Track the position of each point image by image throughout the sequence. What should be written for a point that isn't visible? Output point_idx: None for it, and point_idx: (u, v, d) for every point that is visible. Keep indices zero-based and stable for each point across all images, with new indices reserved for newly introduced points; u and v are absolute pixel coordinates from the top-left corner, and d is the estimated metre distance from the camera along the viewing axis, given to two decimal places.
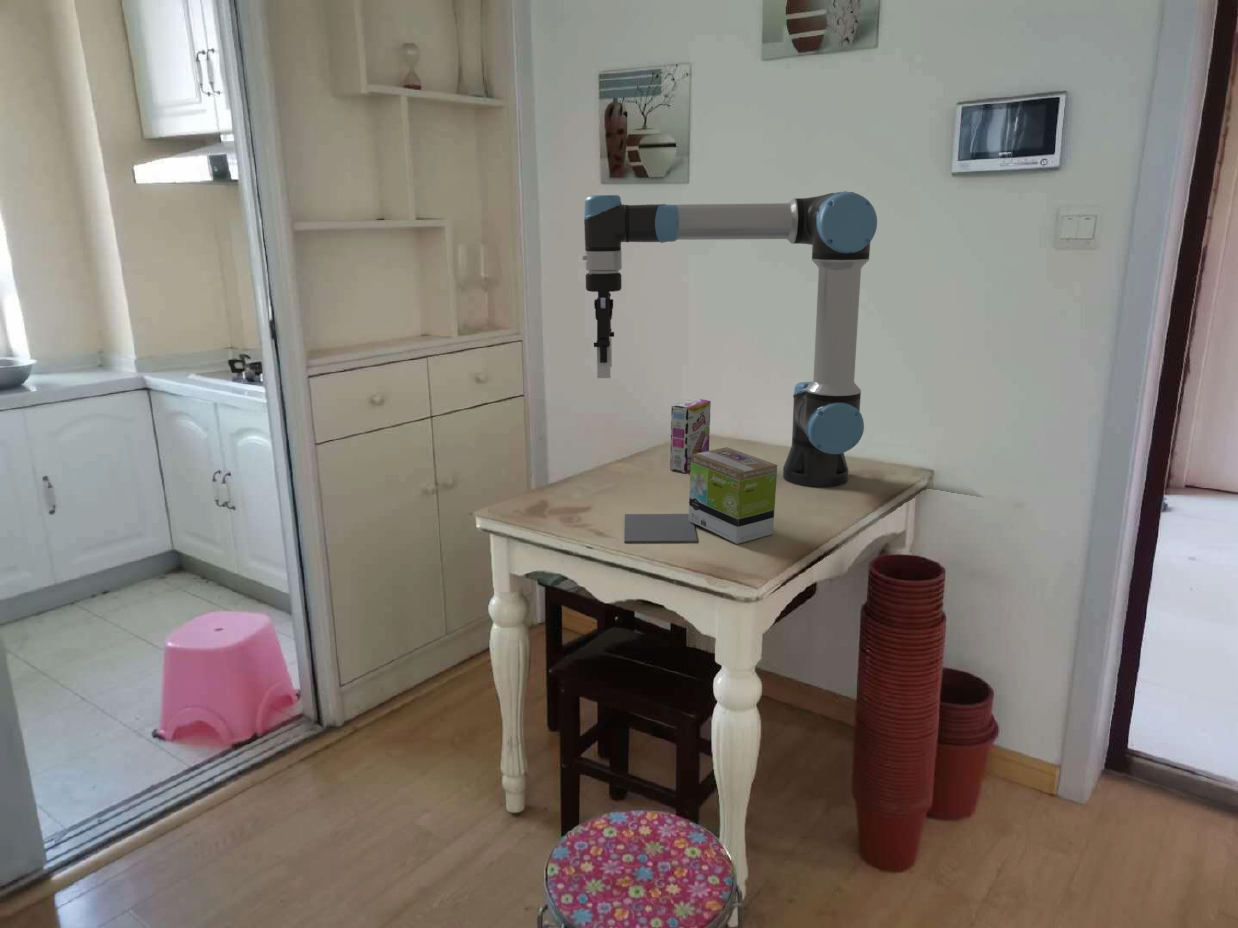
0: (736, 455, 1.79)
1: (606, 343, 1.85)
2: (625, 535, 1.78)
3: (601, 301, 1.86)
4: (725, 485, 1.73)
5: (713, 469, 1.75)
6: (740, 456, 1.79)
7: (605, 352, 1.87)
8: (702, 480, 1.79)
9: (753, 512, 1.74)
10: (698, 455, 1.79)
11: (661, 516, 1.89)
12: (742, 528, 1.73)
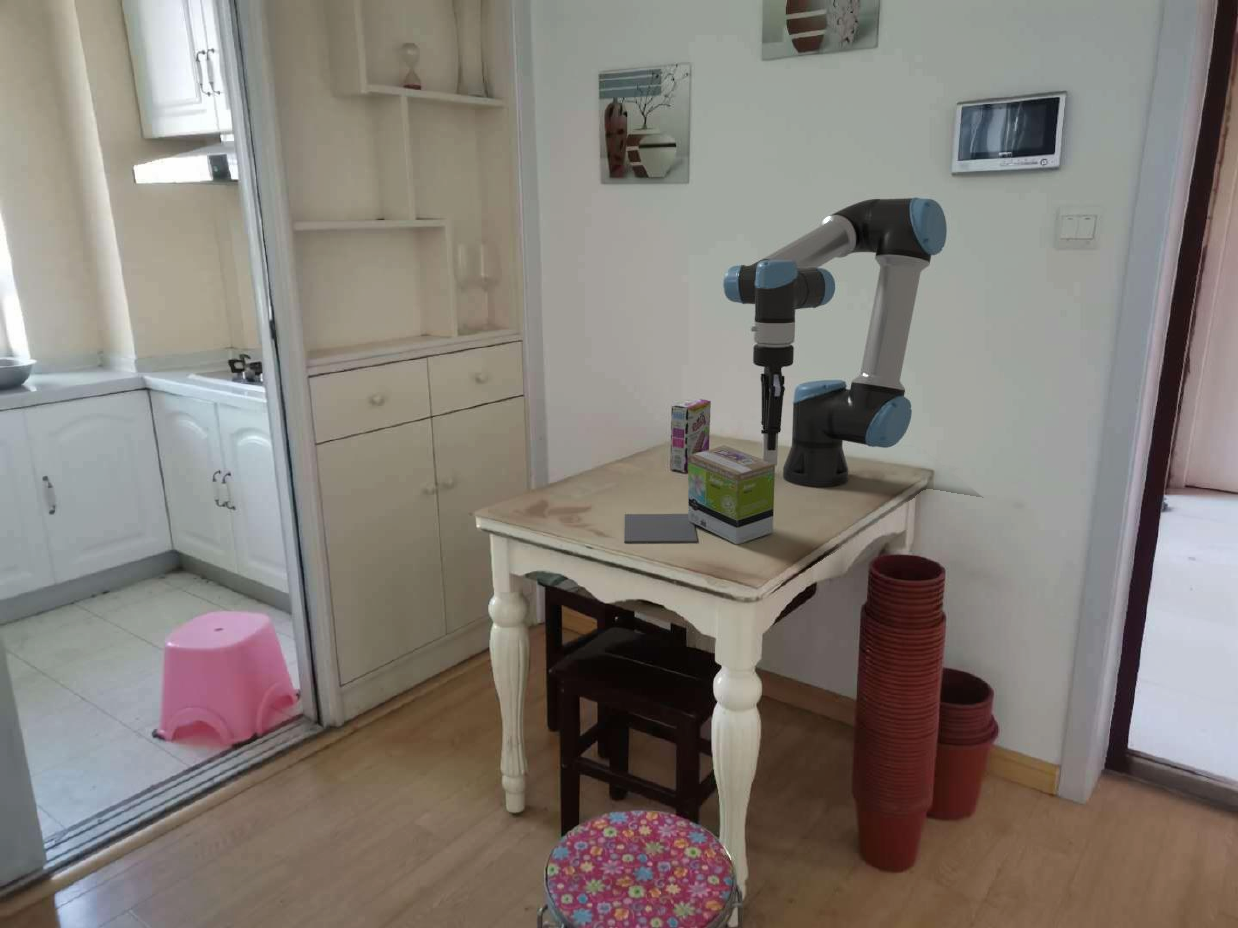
0: (733, 454, 1.79)
1: (777, 431, 1.72)
2: (625, 535, 1.78)
3: (776, 391, 1.68)
4: (723, 486, 1.73)
5: (710, 470, 1.75)
6: (737, 455, 1.78)
7: (774, 439, 1.75)
8: (700, 481, 1.78)
9: (752, 512, 1.74)
10: (695, 456, 1.79)
11: (661, 516, 1.89)
12: (741, 529, 1.73)
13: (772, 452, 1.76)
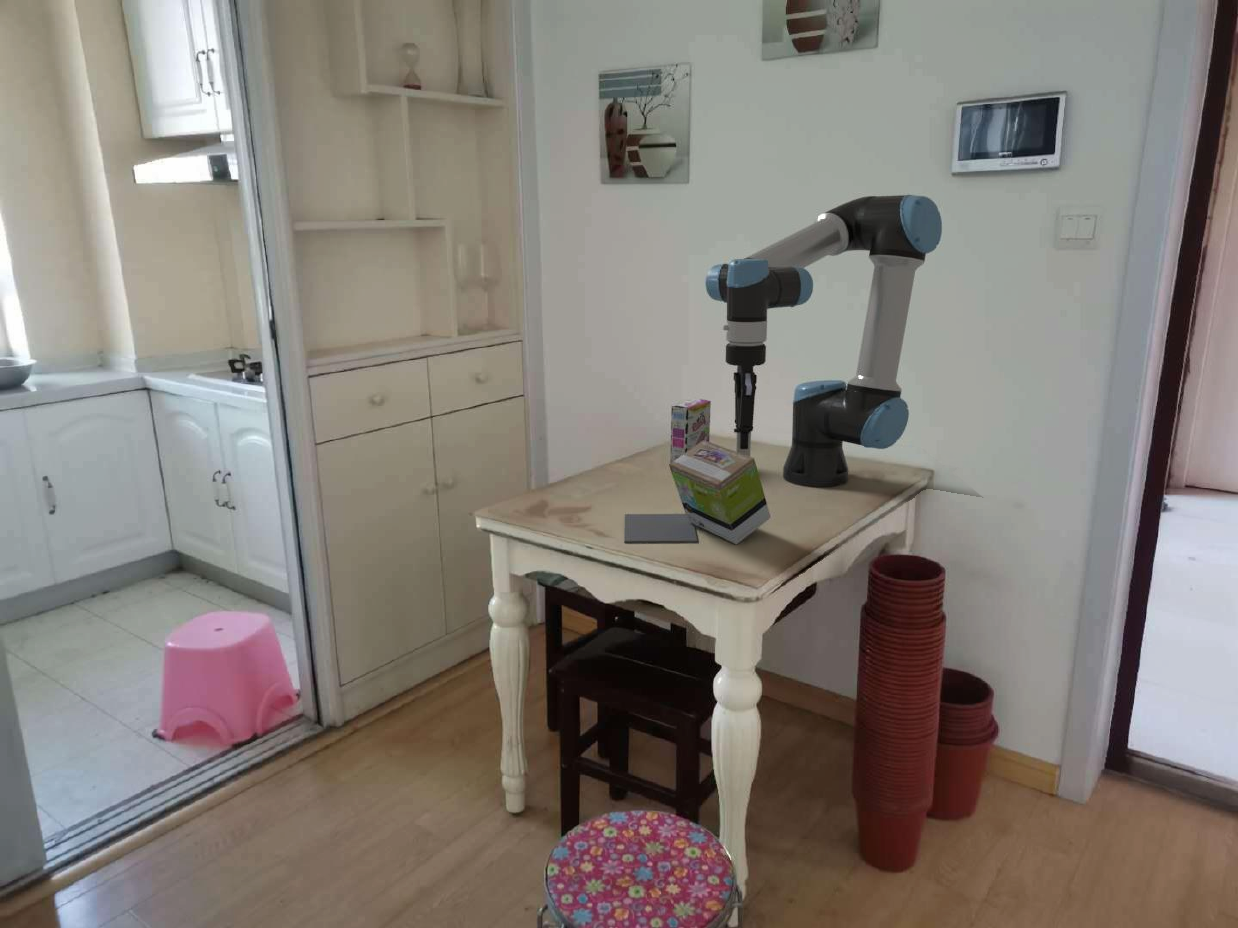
0: (713, 454, 1.75)
1: (749, 429, 1.73)
2: (625, 535, 1.78)
3: (747, 390, 1.68)
4: (708, 494, 1.71)
5: (692, 479, 1.73)
6: (717, 454, 1.75)
7: (746, 438, 1.75)
8: (686, 488, 1.77)
9: (744, 510, 1.72)
10: (675, 465, 1.76)
11: (661, 516, 1.89)
12: (737, 529, 1.72)
13: (745, 451, 1.77)
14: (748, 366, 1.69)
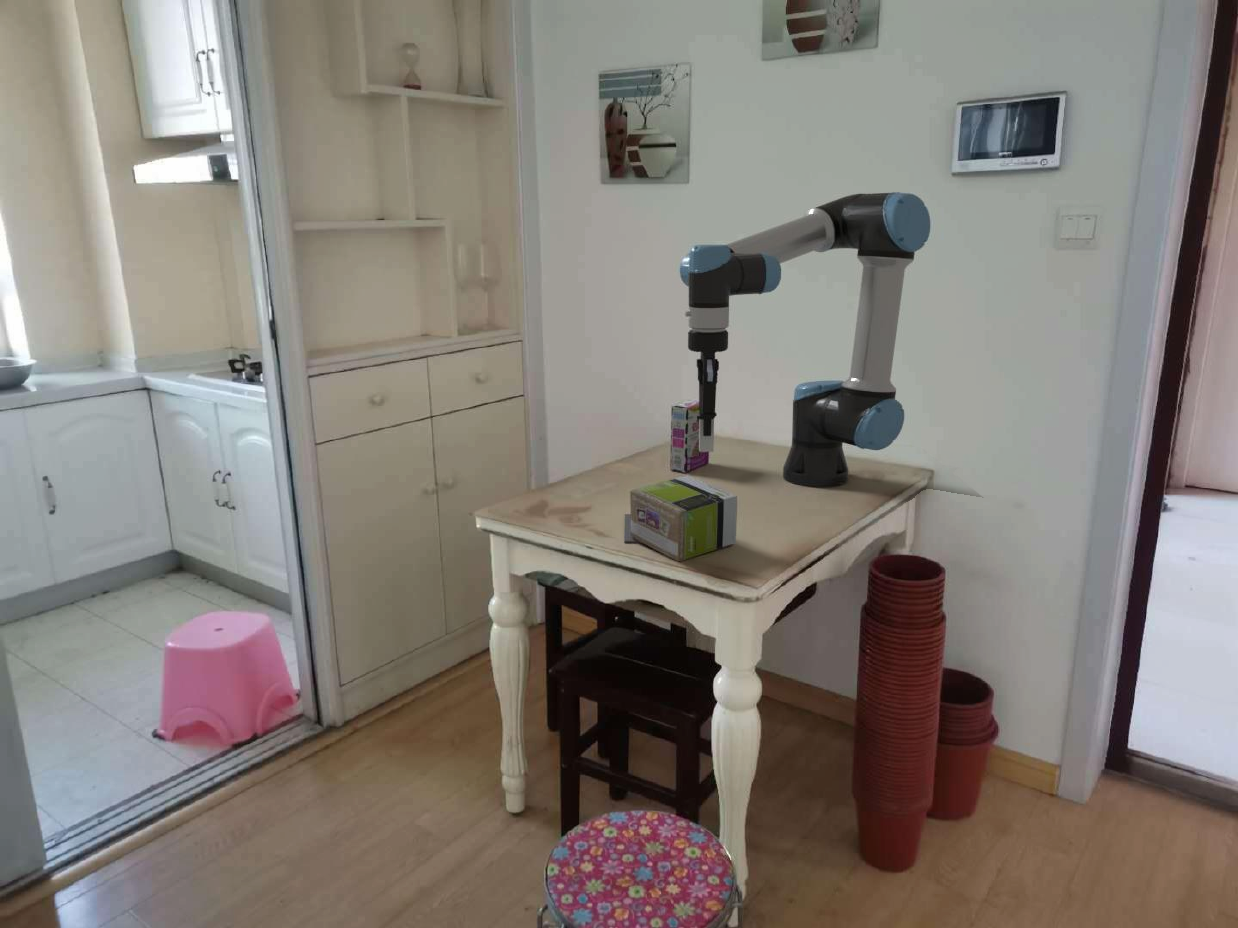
0: (649, 515, 1.70)
1: (712, 416, 1.72)
2: (625, 535, 1.78)
3: (708, 377, 1.67)
4: None
5: None
6: (652, 515, 1.69)
7: (709, 425, 1.74)
8: None
9: (714, 531, 1.69)
10: (635, 537, 1.75)
11: None
12: (725, 541, 1.71)
13: (708, 438, 1.76)
14: (710, 352, 1.69)
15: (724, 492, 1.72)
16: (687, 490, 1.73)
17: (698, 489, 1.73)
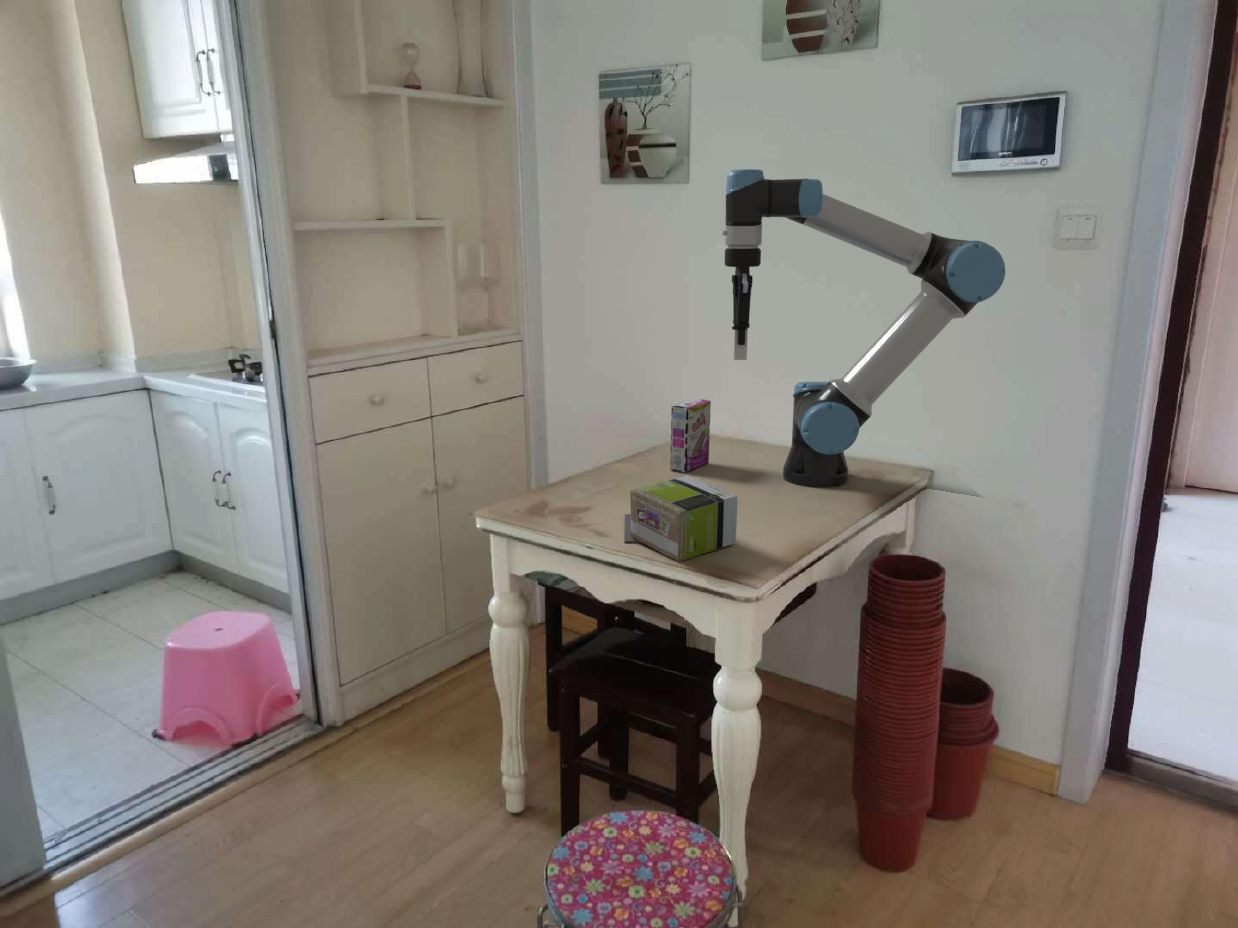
0: (649, 515, 1.70)
1: (746, 325, 1.91)
2: (625, 535, 1.78)
3: (744, 288, 1.87)
4: None
5: None
6: (652, 515, 1.69)
7: (743, 334, 1.93)
8: None
9: (714, 531, 1.69)
10: (635, 537, 1.75)
11: None
12: (725, 541, 1.71)
13: (742, 347, 1.95)
14: (745, 267, 1.88)
15: (724, 492, 1.72)
16: (687, 490, 1.73)
17: (698, 489, 1.73)
